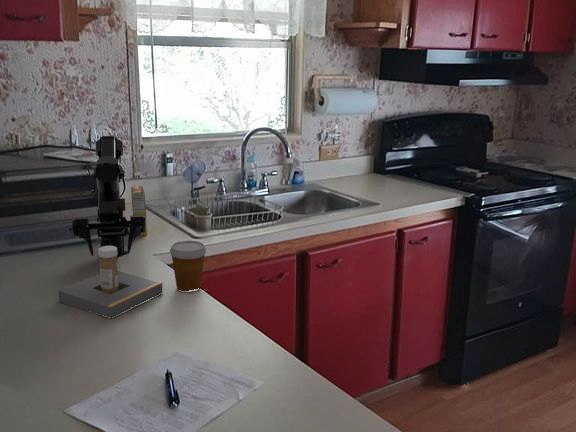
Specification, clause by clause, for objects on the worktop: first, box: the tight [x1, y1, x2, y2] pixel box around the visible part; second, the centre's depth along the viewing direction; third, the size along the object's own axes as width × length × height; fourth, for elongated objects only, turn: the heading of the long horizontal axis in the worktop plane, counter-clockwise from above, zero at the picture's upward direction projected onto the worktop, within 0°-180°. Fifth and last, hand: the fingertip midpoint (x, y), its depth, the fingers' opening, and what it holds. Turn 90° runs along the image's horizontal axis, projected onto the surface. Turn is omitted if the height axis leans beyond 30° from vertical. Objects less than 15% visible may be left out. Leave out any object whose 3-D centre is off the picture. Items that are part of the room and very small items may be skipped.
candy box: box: [130, 185, 148, 237], centre depth 206 cm, size 9×4×15 cm, turn 17°
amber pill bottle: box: [97, 246, 119, 294], centre depth 153 cm, size 5×5×14 cm
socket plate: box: [57, 270, 164, 318], centre depth 155 cm, size 18×18×3 cm
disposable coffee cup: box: [169, 240, 207, 292], centre depth 161 cm, size 10×10×12 cm
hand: (110, 254), depth 160 cm, fingers open, 9 cm apart
